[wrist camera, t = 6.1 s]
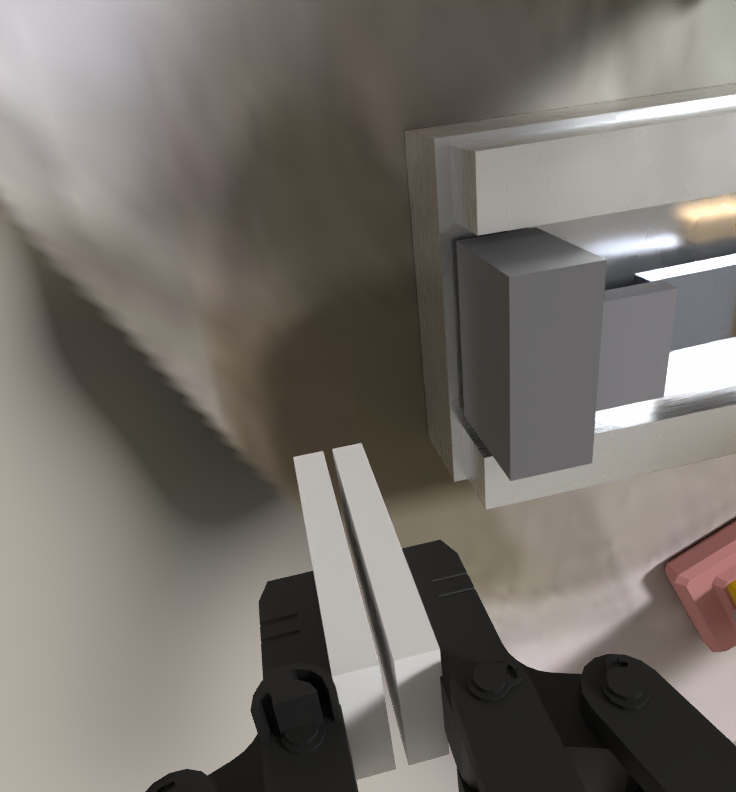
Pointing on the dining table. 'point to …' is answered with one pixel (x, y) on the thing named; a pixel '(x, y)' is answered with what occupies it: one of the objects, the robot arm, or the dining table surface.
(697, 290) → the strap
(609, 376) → the grey slider block
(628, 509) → the dining table surface
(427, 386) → the rail slide plate
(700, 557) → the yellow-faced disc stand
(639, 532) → the dining table surface
